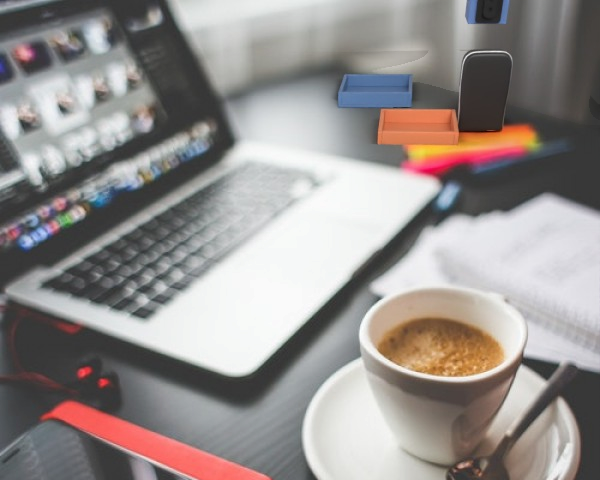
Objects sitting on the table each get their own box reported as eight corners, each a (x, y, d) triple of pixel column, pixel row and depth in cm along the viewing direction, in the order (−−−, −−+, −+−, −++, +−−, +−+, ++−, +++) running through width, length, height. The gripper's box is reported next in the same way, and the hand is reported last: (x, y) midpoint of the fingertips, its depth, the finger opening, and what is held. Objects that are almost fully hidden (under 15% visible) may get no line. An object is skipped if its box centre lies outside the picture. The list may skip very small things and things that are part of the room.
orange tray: (453, 125, 97) (455, 109, 95) (457, 149, 88) (459, 132, 87) (380, 124, 98) (381, 108, 97) (377, 148, 90) (377, 131, 89)
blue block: (501, 16, 87) (507, -24, 84) (506, 24, 83) (512, -18, 80) (464, 16, 88) (469, -24, 85) (467, 24, 84) (472, -18, 81)
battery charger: (499, 124, 96) (511, 45, 90) (503, 132, 93) (515, 52, 87) (453, 124, 97) (461, 46, 90) (455, 133, 94) (464, 53, 87)
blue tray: (411, 88, 113) (412, 74, 112) (411, 107, 104) (412, 92, 103) (344, 88, 115) (344, 74, 114) (338, 107, 106) (338, 92, 105)
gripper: (553, -147, 68) (523, 32, 78) (528, -147, 81) (505, 6, 92) (481, -145, 69) (461, 32, 79) (469, -145, 82) (453, 6, 93)
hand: (485, 16), depth 85 cm, fingers closed on blue block, 5 cm apart
